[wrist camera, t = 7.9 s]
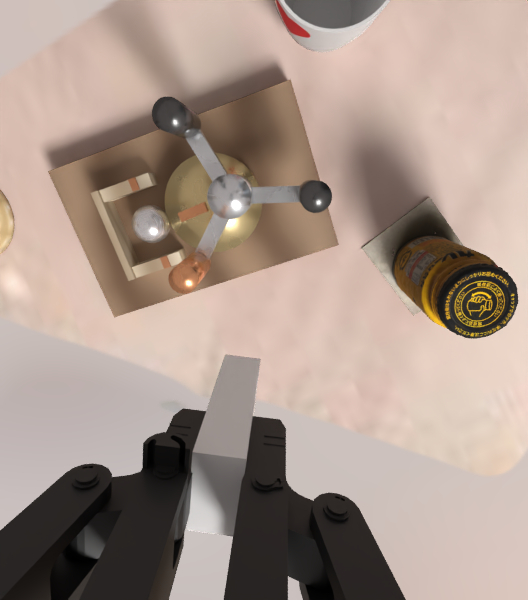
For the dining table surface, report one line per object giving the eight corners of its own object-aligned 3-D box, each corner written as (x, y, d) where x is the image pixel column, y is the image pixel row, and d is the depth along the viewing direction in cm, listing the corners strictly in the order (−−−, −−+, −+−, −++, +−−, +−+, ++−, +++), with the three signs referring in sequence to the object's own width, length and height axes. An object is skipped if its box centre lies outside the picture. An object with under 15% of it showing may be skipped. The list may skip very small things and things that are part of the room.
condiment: (413, 315, 41) (463, 369, 30) (361, 247, 40) (393, 277, 28) (479, 268, 40) (558, 307, 28) (428, 196, 38) (490, 206, 27)
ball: (166, 198, 37) (155, 200, 34) (180, 233, 38) (170, 238, 35) (133, 210, 37) (119, 213, 34) (147, 244, 38) (135, 250, 35)
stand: (290, 84, 36) (290, 72, 32) (335, 241, 40) (342, 249, 35) (59, 171, 39) (32, 171, 35) (121, 310, 42) (104, 325, 38)
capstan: (280, 78, 34) (279, 43, 25) (329, 218, 37) (345, 232, 28) (139, 142, 36) (90, 130, 27) (197, 270, 39) (170, 300, 29)
